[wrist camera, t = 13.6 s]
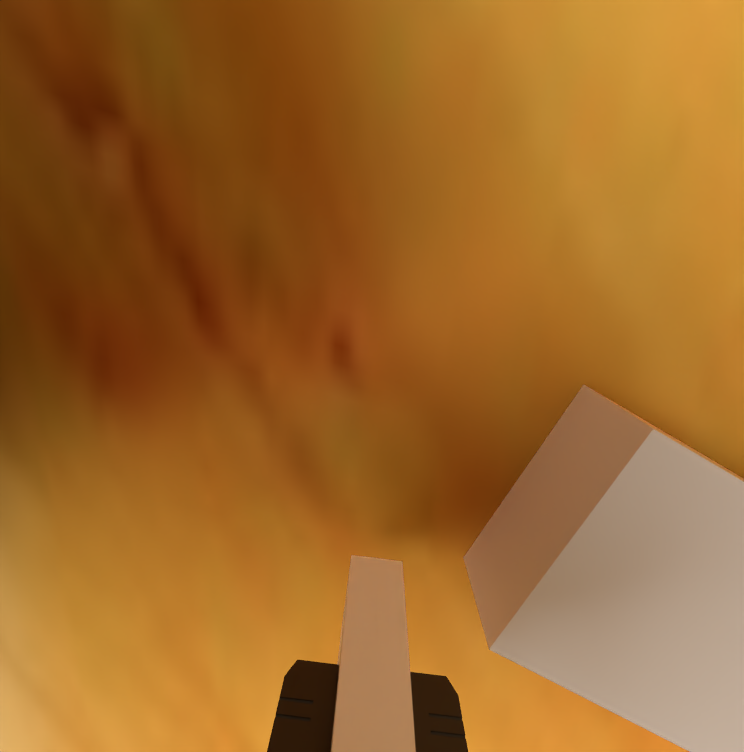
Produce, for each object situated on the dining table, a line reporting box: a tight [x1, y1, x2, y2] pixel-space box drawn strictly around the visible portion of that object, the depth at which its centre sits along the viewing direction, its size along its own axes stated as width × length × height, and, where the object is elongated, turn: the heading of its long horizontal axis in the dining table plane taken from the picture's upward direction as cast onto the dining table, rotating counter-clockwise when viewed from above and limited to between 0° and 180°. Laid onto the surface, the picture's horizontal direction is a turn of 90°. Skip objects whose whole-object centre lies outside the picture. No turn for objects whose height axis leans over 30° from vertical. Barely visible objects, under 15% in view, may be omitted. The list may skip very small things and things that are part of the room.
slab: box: [463, 385, 744, 752], centre depth 18 cm, size 12×8×5 cm, turn 60°
